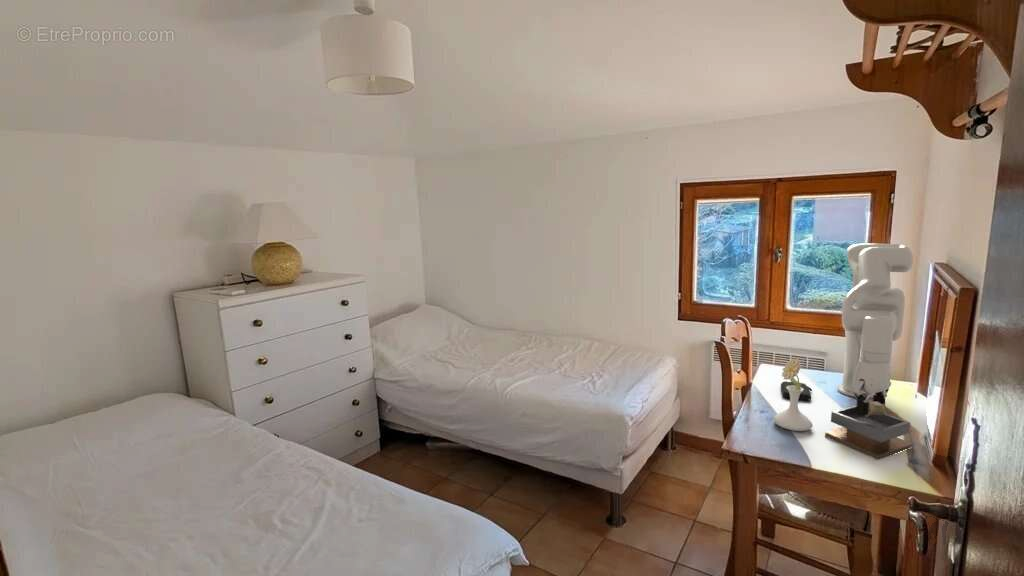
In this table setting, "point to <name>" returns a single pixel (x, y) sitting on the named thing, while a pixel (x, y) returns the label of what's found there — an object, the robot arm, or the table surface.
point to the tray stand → (869, 432)
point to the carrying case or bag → (803, 395)
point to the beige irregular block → (875, 407)
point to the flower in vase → (793, 401)
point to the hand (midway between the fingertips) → (870, 410)
